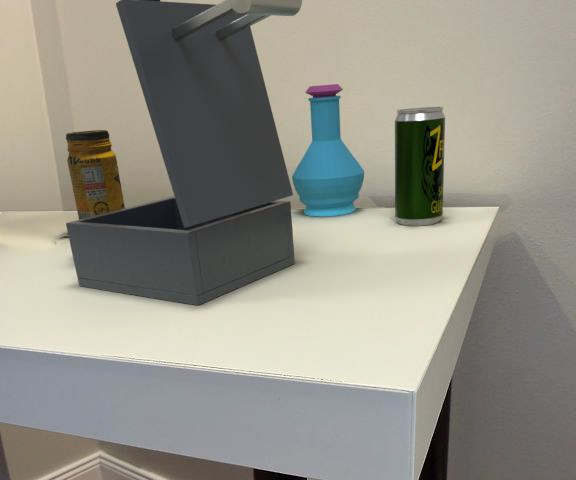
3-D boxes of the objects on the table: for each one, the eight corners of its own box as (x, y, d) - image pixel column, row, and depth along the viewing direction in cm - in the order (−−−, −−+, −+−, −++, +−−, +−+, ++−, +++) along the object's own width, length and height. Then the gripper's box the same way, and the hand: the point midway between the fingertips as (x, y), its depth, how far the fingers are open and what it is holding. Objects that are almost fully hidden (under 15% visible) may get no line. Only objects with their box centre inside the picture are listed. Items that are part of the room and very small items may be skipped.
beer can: (390, 226, 74) (389, 111, 69) (400, 216, 79) (400, 108, 74) (438, 226, 72) (440, 108, 67) (446, 216, 77) (449, 105, 72)
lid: (114, 3, 46) (202, -54, 40) (238, 9, 55) (322, -36, 50) (183, 228, 50) (271, 205, 44) (286, 197, 60) (368, 175, 54)
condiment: (139, 222, 89) (123, 127, 84) (112, 236, 81) (93, 133, 76) (90, 224, 90) (71, 131, 85) (59, 238, 83) (37, 137, 78)
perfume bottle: (329, 202, 91) (323, 84, 85) (380, 207, 85) (378, 80, 79) (280, 214, 86) (270, 89, 80) (330, 221, 79) (324, 85, 73)
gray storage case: (78, 286, 61) (65, 222, 58) (181, 251, 70) (173, 196, 68) (198, 305, 52) (188, 232, 50) (295, 263, 62) (290, 201, 60)
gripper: (41, -234, 60) (87, 27, 69) (272, -336, 48) (292, -4, 57) (100, -209, 66) (135, 29, 75) (319, -295, 54) (331, 0, 63)
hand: (203, 15), depth 66 cm, fingers open, 13 cm apart
